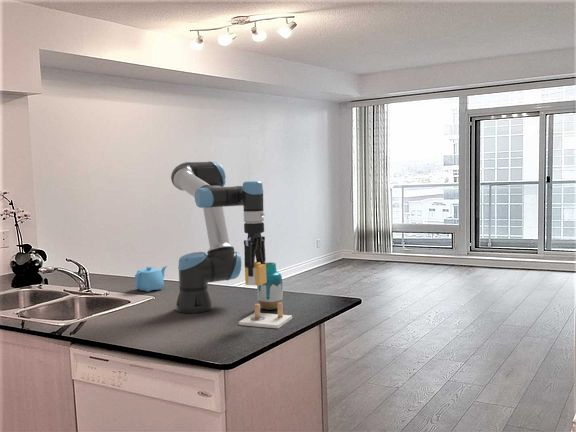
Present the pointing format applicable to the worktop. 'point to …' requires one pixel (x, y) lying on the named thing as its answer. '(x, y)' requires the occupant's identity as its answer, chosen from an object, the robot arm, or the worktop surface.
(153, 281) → the teapot
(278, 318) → the plate
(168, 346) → the worktop surface
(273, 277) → the vase
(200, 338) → the worktop surface
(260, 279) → the yellow toy brick
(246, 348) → the worktop surface
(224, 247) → the robot arm
